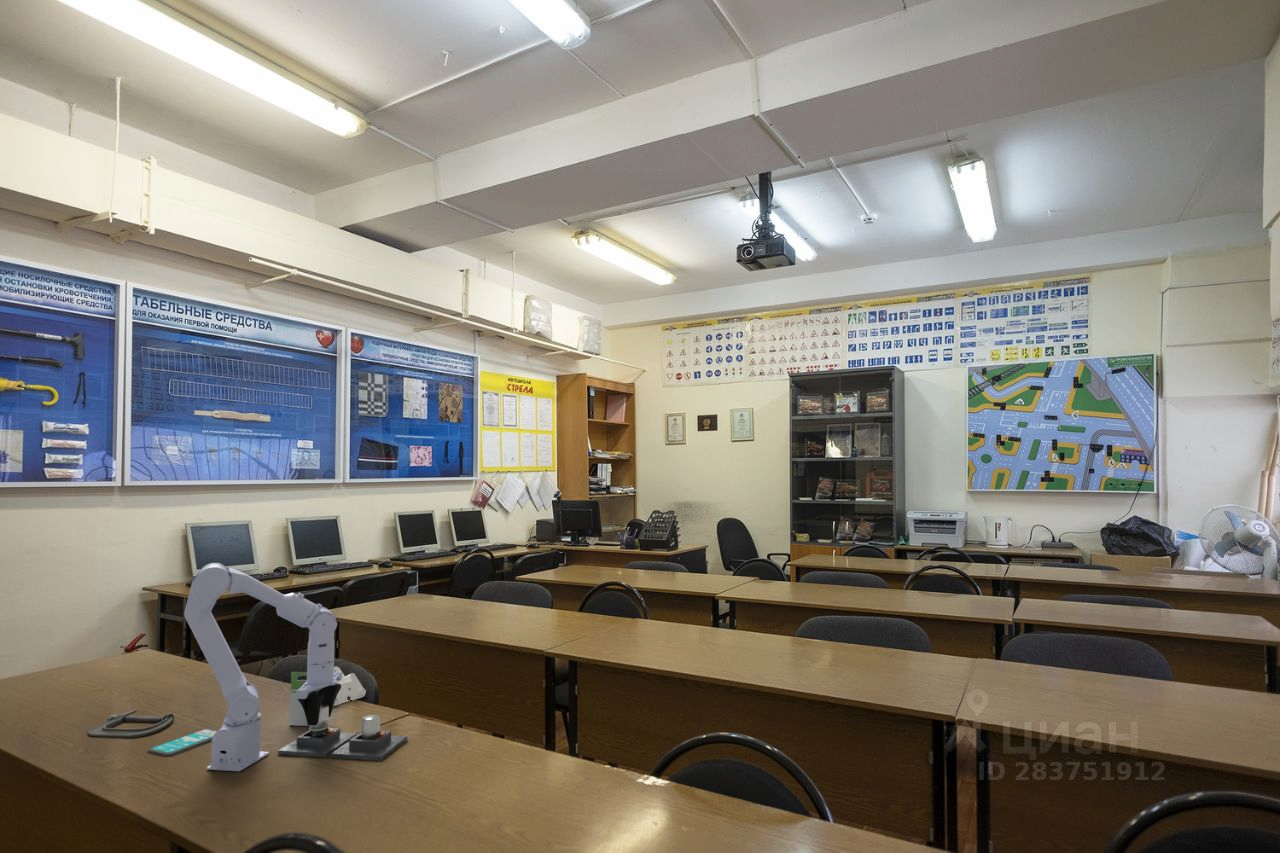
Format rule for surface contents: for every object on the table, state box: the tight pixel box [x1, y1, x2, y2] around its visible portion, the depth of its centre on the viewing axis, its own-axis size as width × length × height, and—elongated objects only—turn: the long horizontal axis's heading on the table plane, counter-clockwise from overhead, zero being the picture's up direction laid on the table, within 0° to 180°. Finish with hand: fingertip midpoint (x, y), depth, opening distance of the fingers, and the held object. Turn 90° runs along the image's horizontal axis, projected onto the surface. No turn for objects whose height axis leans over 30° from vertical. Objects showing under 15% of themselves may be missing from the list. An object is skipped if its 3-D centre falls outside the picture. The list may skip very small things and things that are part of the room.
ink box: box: [288, 671, 310, 727], centre depth 175 cm, size 7×4×13 cm, turn 84°
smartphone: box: [147, 727, 220, 757], centre depth 162 cm, size 9×1×15 cm
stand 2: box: [330, 729, 408, 762], centre depth 158 cm, size 12×12×4 cm
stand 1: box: [277, 727, 358, 759], centre depth 160 cm, size 12×12×4 cm
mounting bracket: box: [333, 666, 367, 707], centre depth 193 cm, size 12×6×11 cm, turn 147°
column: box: [360, 714, 381, 740], centre depth 158 cm, size 4×4×6 cm
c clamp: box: [87, 709, 175, 739], centre depth 174 cm, size 20×17×3 cm
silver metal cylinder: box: [308, 704, 330, 736], centre depth 160 cm, size 4×4×6 cm
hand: (319, 720), depth 160 cm, fingers open, 4 cm apart
